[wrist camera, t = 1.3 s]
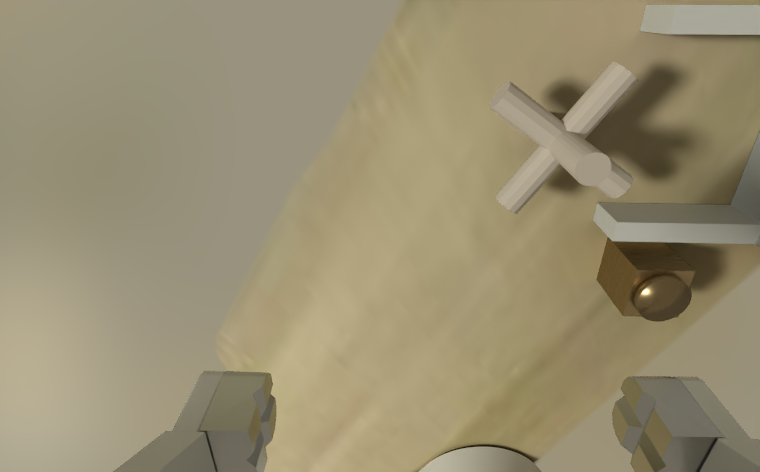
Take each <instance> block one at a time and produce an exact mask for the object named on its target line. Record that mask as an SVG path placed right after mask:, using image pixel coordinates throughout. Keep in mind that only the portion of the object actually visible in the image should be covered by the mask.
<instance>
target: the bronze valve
mask: <svg viewBox="0 0 760 472" xmlns="http://www.w3.org/2000/svg"><path fill="white" fill-rule="evenodd" d="M695 272H696V271H695V270H694V269H693V268H691V267H690V266H689V265H688V264H687V263H686V262H685V261H684V260H683V259H681V258H680V257H679V256H678V255H677V254H676V253H675V252H674V251H672V250H671V249H670V248H669V247H668V246H667V245H666V244H665V243H664V242H626V241H612V240H611V239H610V238H609V237H608V238H607V242H606V246H605V250H604V253H603V257H602V261H601V265H600V268H599V272H598V276H597V281H598V282H599V284H600V285H601V286H602V288H603V289H604V290H605V292H606V293H607V295H608V296H609V297H610V299H611V300H612V302H613V303H614V304H615V306H616V307H617V308H618V310H619V311H620V313H621V314H622V315H623V316H642V317H644V318H645V319H647V320H651V321H665V320H669V319H672V318H674V317H678V316H679V314H681V313H682V312H683V311H684V310H685V309H686V308H687V306H688V305H689V303H690V301H691V290H690V288H689V287H690V285H691V282H692V280H693V277H694V274H695Z"/></svg>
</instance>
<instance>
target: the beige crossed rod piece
mask: <svg viewBox="0 0 760 472" xmlns="http://www.w3.org/2000/svg"><path fill="white" fill-rule="evenodd" d="M637 81H638V80H637V78H636V77H635V76H634V75H633V74H632V73H631V72H629V71H628V70H627V69H626V68H624V67H622V66H621V65H619V64H617V63H615V62H611V63H610V64H609V65H608V66H607V68H606V69H605V70H604V71H603V72H602V73H601V75H600V76H599V77H598V78H597V79H596V80H595V81H594V83H593V84H592V85H591V86H590V87H589V88H588V90H587V91H586V92H585V93H584V94H583V95H582V96H581V98H580V99H579V100H578V101H577V102H576V103H575V105H574V106H573V107H572V108H571V109H570V110H569V111H568V113H567V114H566V115H565V116H564V117H563V118H562V120H561V121H560V120H559V119H558V118H557V117H555V116H554V115H553V114H551V113H550V112H549V111H548V110H546V109H545V108H544V107H542V106H541V105H540V104H539V103H537V102H536V101H535V100H533V99H532V98H531V97H530V96H528V95H527V94H526V93H524V92H523V91H522V90H520V89H519V88H518V87H517V86H515V85H514V84H513V83H511V82H510V81H509V82H506V83H505V84H504V85H502V86H501V87H500V89H499V90H498V91H497V92H496V93H495V95H494V96H493V98H492V99H491V102H490V104H489V108H490V109H491V110H493V111H494V112H495V113H497V114H498V115H499V116H501V117H502V118H503V119H505V120H506V121H507V122H509V123H510V124H511V125H513V126H514V127H515V128H517V129H518V130H519V131H521V132H522V133H523V134H525V135H526V136H527V137H529V138H530V139H531V140H533V141H534V142H536V143H537V144H538V145H539V146H538V147H537V148H536V150H535V151H534V152H533V153H532V154H531V155H530V156H529V158H528V159H527V160H526V161H525V162H524V163H523V165H522V166H521V167H520V168H519V169H518V170H517V171H516V173H515V174H514V175H513V176H512V177H511V178H510V180H509V181H508V182H507V183H506V184H505V185H504V186H503V188H502V189H501V190H500V191H499V192H498V193H497V195H496V198H497V200H498V201H499V202H500V203H501V204H502V205H503V206H504V207H506V208H507V209H508V210H510V211H511V212H513V213H516V214H517V213H518V212H519V211H520V210H521V209H522V208H523V206H524V205H525V204H526V203H527V202H528V201H529V200H530V199H531V198H532V197H533V195H534V194H535V193H536V192H537V191H538V190H539V189H540V188H541V187H542V186H543V184H544V183H545V182H546V181H547V180H548V179H549V178H550V177H551V176H552V175H553V173H554V172H555V171H556V170H557V169H558V168H559V167H560V166H561V165H562V166H563V167H564V168H565V169H566V170H567V171H568V172H569V173H570V174H571V175H572V176H573V177H574V178H575V179H576V180H577V181H578V182H579V183H580V184H582V185H584V186H594V187H596V188H597V189H598V190H600V191H601V192H603V193H604V194H605V195H607V196H608V197H610V198H613V199H614V198H617V197H620V196H621V195H623V194H624V193H625V192H627V190H628V189H629V188H630V186H631V184H632V181H633V178H632V176H631V175H630V174H629V173H628V172H626V171H625V170H624V169H622V168H621V167H620V166H619V165H617V164H616V163H615V162H613V161H612V160H611V159H610V158H608V157H607V156H606V155H605V154H604V153H602V152H601V151H600V150H598V149H597V148H595V147H594V146H593V145H591V144H590V143H589V142H588V141H586V140H585V138H586V137H587V136H588V135H589V134H590V133H591V132H592V131H593V130H594V129H595V127H596V126H597V125H598V124H599V123H600V122H601V121H602V120H603V119H604V118H605V116H606V115H607V114H608V113H609V112H610V111H611V110H612V109H613V108H614V107H615V105H616V104H617V103H618V102H619V101H620V100H621V99H622V98H623V97H624V96H625V94H626V93H627V92H628V91H629V90H630V89H631V88H632V87H633V86H634V85H635V84H636V82H637Z"/></svg>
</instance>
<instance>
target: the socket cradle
mask: <svg viewBox="0 0 760 472" xmlns="http://www.w3.org/2000/svg"><path fill="white" fill-rule="evenodd" d="M640 31H644V32H653V33H662V34H723V35H760V5H646V8H645V12H644V16H643V20H642V24H641V28H640ZM593 221H594V222H595V223H596V224H597V225H598V226H599V227H600V228H601V229H602V231H603V232H604V233H605V234H606V235H607V236H608V237H609V238H610V239H611V240H612V241H626V242H680V243H734V244H757V245H758V246H760V132H759V134H758V137H757V139H756V142H755V144H754V147H753V150H752V152H751V155H750V157H749V160H748V162H747V165H746V167H745V170H744V172H743V175H742V177H741V180H740V182H739V185H738V187H737V190H736V192H735V195H734V198H733V200H732V203H731V205H715V204H652V203H597V207H596V211H595V215H594V219H593Z"/></svg>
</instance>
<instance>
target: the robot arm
mask: <svg viewBox="0 0 760 472" xmlns="http://www.w3.org/2000/svg"><path fill="white" fill-rule="evenodd" d="M272 386H273V382H272V377H271V374H270V373H261V372H234V371H226V372H223V371H222V372H221V371H204V372H203V373H202V374H201V375H200V376H199V378H198V380H197V382H196V384H195V386H194V388H193V390H192V392H191V394H190V396H189V398H188V400H187V402H186V404H185V406H184V408H183V410H182V412H181V414H180V416H179V418H178V421H177V423H176V424H175V426H174V428H173V431H165V432H164V433H163V434H161V435H160V436H159V437H157V438H156V439H155V440H154V441H152V442H151V443H150V444H148V445H147V446H146V447H144V448H143V449H142V450H141V451H139V452H138V453H137V454H135V455H134V456H133V457H132V458H130V459H129V460H128V461H126V462H125V463H124V464H123V465H121V466H120V467H119V468H117V469H116V470H115V471H113V472H264V469H265V466H266V462H267V453H266V448H265V447H266V446H267V445H268V444H269V443H270V442H271V441H272V438H273V434H274V430H275V423H276V401H275V398H274V397H273V396H272V395H271V394H270V393H271V389H272ZM620 389H621V390H622V392H623V394H624V395H625V396H623V397H622V398H621V399H619V400H618V401H616V402H615V405H614V409H613V412H612V417H613V427H614V430H615V434H616V436H617V438H618V440H619V442H620V444H621V445H622V446H623V447H624V448H625V449H627V450H628V451H629V452H630V453H632V454H633V455H632V459H631V465H632V467H633V469H634V471H635V472H760V440H759V439H750V437H749V436H748V435H747V434H746V432H745V431H744V430H743V429H742V428H741V426H740V425H739V424H738V423H737V422H736V420H735V419H734V418H733V417H732V415H731V414H730V413H729V412H728V410H727V409H726V408H725V407H724V406H723V405H722V403H721V402H720V401H719V400H718V398H717V397H716V396H715V395H714V394H713V392H712V391H711V390H710V389H709V387H708V386H707V385H706V384H705V382H704V381H702V380H701V379H699V378H698V377H627V378H626V379H625V380H624V381H623V383H622V386H621V388H620ZM418 472H541V471H540V470H539V468H538V467H537V466H536V465H535V464H534V463H533V462H532V461H531V460H529V459H528V458H526V457H524V456H523V455H521V454H518V453H516V452H513V451H510V450H506V449H502V448H496V447H469V448H463V449H458V450H454V451H451V452H448V453H445V454H443V455H441V456H439V457H437V458H435V459H434V460H432V461H431V462H429V463H428V464H427V465H426V466H425V467H423V468H422V469H421V470H420V471H418Z"/></svg>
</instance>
